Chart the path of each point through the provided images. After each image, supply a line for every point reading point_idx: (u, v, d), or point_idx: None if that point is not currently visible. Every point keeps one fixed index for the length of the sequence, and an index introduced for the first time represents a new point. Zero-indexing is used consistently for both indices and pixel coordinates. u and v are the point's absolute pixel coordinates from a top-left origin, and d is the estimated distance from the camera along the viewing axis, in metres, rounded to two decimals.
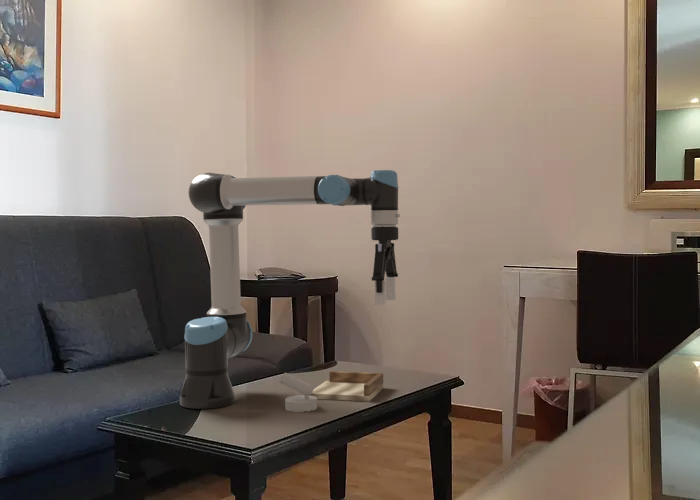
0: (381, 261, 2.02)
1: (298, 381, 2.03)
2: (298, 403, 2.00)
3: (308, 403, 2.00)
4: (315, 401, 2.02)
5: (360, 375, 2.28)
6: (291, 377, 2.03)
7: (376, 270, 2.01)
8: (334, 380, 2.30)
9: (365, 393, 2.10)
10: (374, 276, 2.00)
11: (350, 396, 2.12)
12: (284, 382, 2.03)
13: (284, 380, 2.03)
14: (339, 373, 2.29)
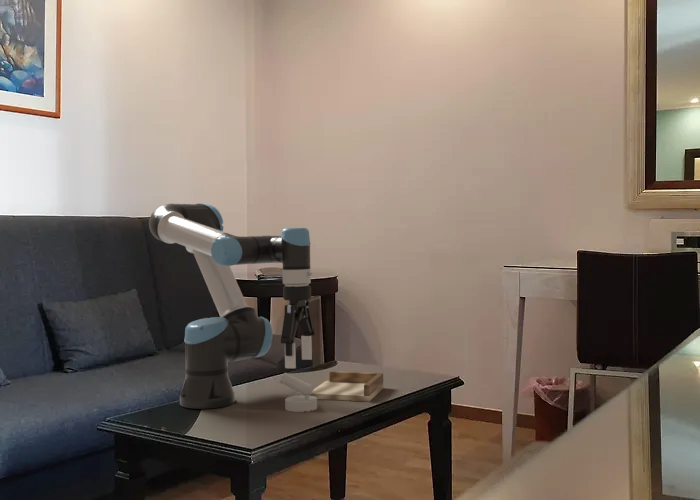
0: (290, 323, 1.95)
1: (298, 381, 2.03)
2: (298, 403, 2.00)
3: (308, 403, 2.00)
4: (315, 401, 2.02)
5: (360, 375, 2.28)
6: (291, 377, 2.03)
7: (284, 333, 1.94)
8: (334, 380, 2.30)
9: (365, 393, 2.10)
10: (282, 339, 1.94)
11: (350, 396, 2.12)
12: (284, 382, 2.03)
13: (284, 380, 2.03)
14: (339, 373, 2.29)
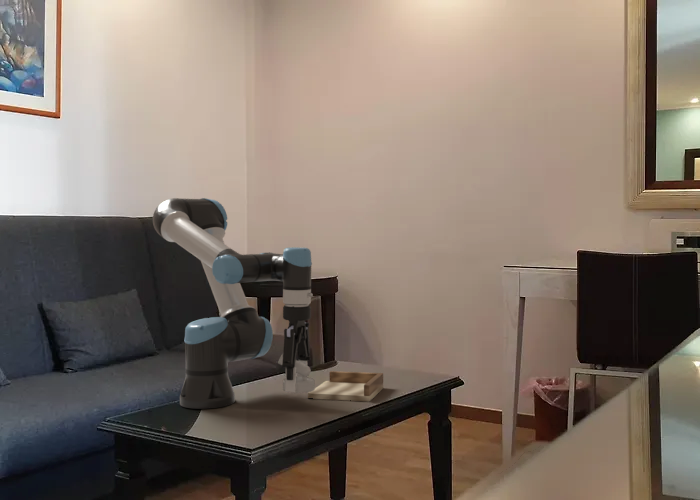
0: (290, 348, 1.97)
1: (296, 362, 2.03)
2: (296, 384, 2.00)
3: (305, 384, 2.00)
4: (313, 382, 2.03)
5: (360, 375, 2.28)
6: None
7: (285, 358, 1.97)
8: (334, 380, 2.30)
9: (365, 393, 2.10)
10: (284, 365, 1.97)
11: (350, 396, 2.12)
12: None
13: (282, 361, 2.03)
14: (339, 373, 2.29)
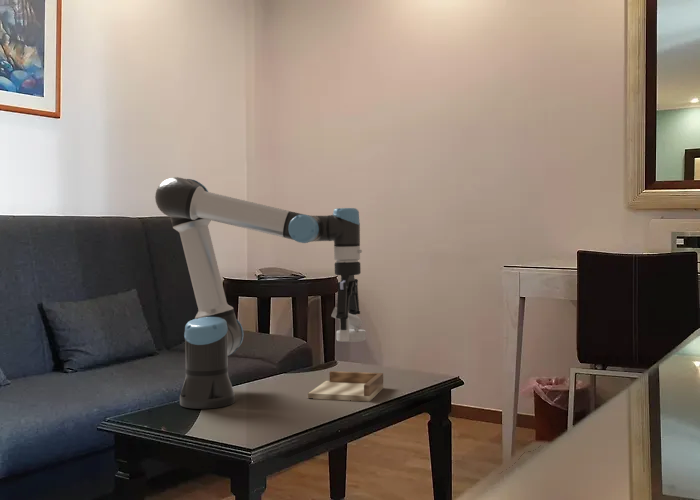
0: (344, 300, 2.12)
1: (348, 314, 2.18)
2: (349, 334, 2.15)
3: (358, 334, 2.16)
4: (364, 332, 2.18)
5: (360, 375, 2.28)
6: None
7: (339, 309, 2.12)
8: (334, 380, 2.30)
9: (365, 393, 2.10)
10: (338, 315, 2.12)
11: (350, 396, 2.12)
12: (335, 315, 2.19)
13: (335, 313, 2.18)
14: (339, 373, 2.29)
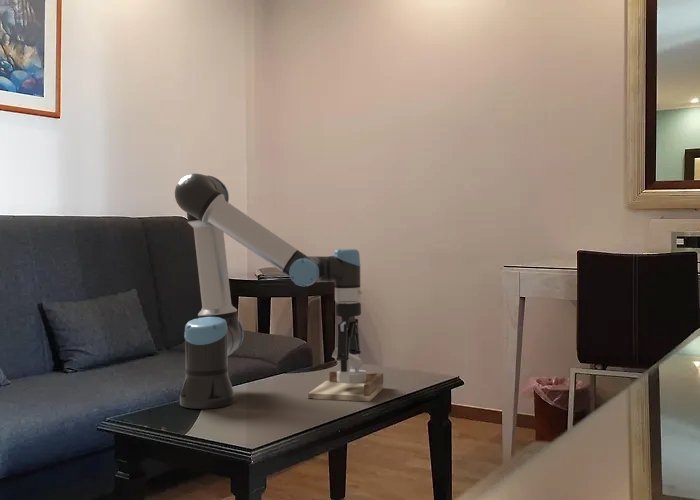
0: (344, 342, 2.12)
1: (349, 355, 2.19)
2: (350, 375, 2.15)
3: (359, 375, 2.16)
4: (365, 373, 2.18)
5: None
6: None
7: (340, 351, 2.12)
8: (334, 380, 2.30)
9: (365, 393, 2.10)
10: (338, 357, 2.12)
11: (350, 396, 2.12)
12: (336, 356, 2.19)
13: (336, 354, 2.19)
14: None
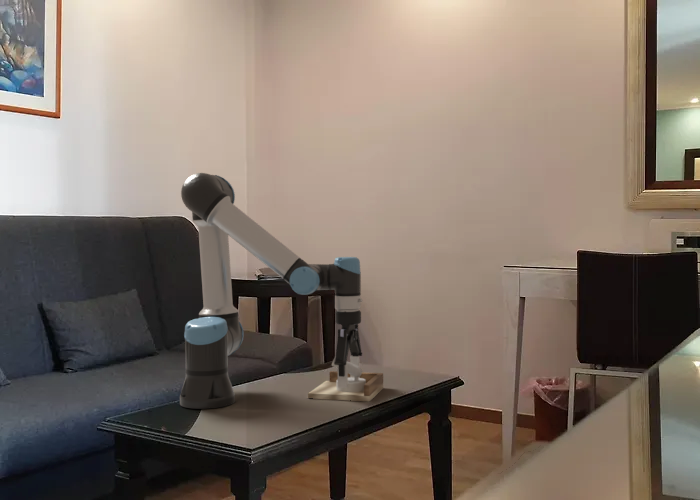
0: (343, 346, 2.11)
1: (348, 364, 2.19)
2: (349, 384, 2.15)
3: (358, 384, 2.16)
4: (364, 382, 2.18)
5: None
6: None
7: (338, 355, 2.11)
8: (334, 380, 2.30)
9: (365, 393, 2.10)
10: (336, 361, 2.10)
11: (350, 396, 2.12)
12: (335, 365, 2.19)
13: None
14: None
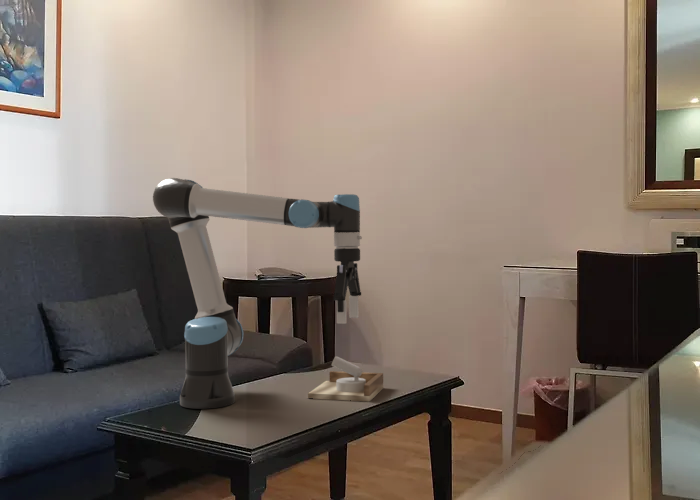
0: (342, 282, 2.11)
1: (348, 364, 2.19)
2: (349, 384, 2.15)
3: (358, 384, 2.16)
4: (364, 382, 2.18)
5: None
6: (342, 360, 2.19)
7: (337, 290, 2.10)
8: (334, 380, 2.30)
9: (365, 393, 2.10)
10: (335, 296, 2.10)
11: (350, 396, 2.12)
12: (335, 365, 2.19)
13: (335, 363, 2.19)
14: (339, 373, 2.29)
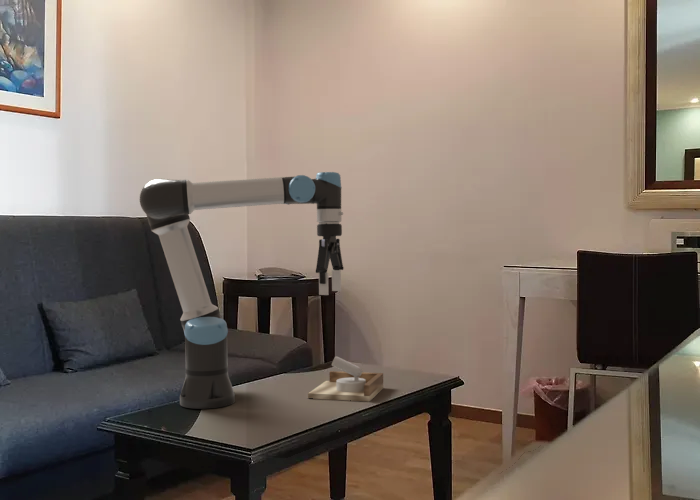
0: (324, 255, 2.21)
1: (348, 364, 2.19)
2: (349, 384, 2.15)
3: (358, 384, 2.16)
4: (364, 382, 2.18)
5: None
6: (342, 360, 2.19)
7: (319, 263, 2.21)
8: (334, 380, 2.30)
9: (365, 393, 2.10)
10: (317, 268, 2.20)
11: (350, 396, 2.12)
12: (335, 365, 2.19)
13: (335, 363, 2.19)
14: (339, 373, 2.29)
